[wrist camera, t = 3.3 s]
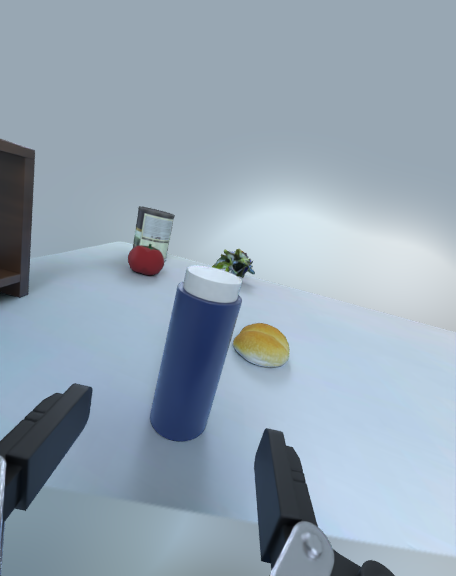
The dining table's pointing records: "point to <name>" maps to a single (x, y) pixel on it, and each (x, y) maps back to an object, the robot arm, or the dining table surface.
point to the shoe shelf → (15, 216)
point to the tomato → (146, 260)
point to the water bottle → (195, 351)
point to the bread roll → (262, 345)
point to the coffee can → (153, 229)
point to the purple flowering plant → (234, 263)
